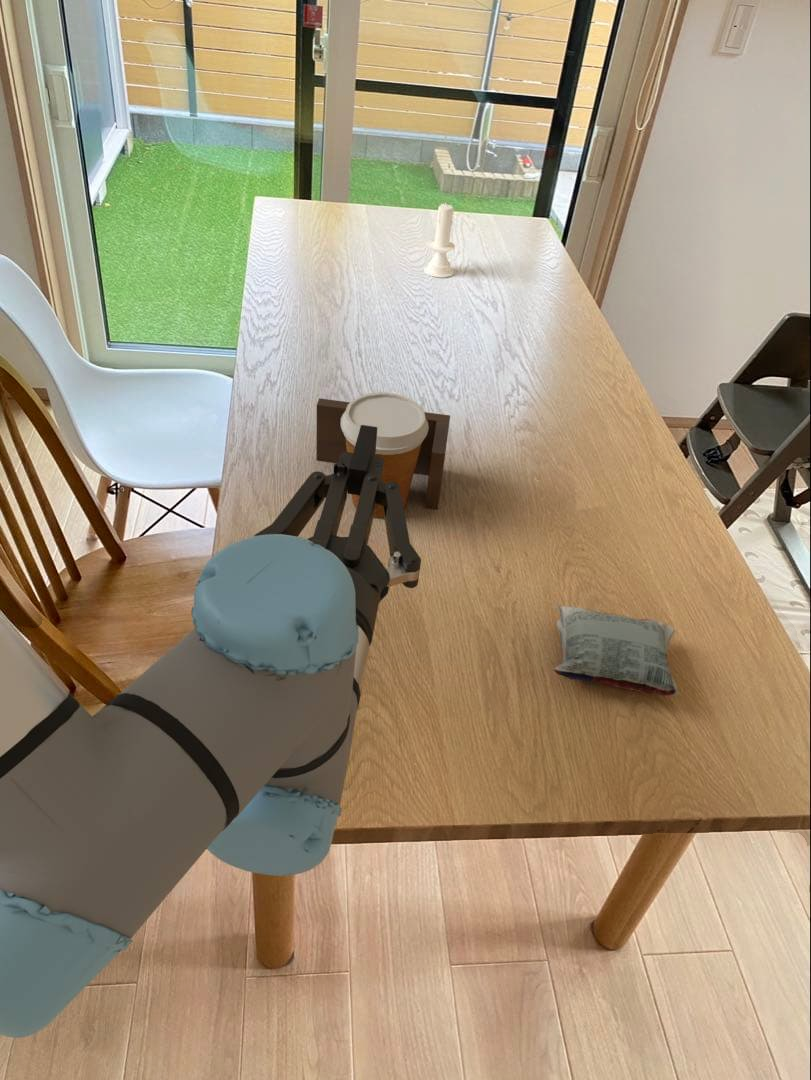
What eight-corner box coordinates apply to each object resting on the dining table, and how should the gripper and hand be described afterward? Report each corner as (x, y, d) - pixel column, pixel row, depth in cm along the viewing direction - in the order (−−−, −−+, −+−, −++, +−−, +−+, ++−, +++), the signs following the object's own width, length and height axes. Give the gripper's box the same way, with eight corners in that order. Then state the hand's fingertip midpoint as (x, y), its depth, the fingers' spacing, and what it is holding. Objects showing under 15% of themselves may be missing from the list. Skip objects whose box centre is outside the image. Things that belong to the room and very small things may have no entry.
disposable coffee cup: (321, 495, 92) (322, 408, 83) (383, 466, 97) (389, 381, 89) (374, 539, 87) (381, 450, 79) (436, 505, 92) (448, 419, 84)
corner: (437, 509, 91) (445, 454, 86) (305, 491, 92) (305, 435, 86) (442, 469, 97) (450, 415, 92) (318, 453, 98) (319, 398, 92)
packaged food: (551, 619, 80) (561, 586, 76) (668, 640, 79) (684, 608, 76) (547, 688, 73) (559, 655, 70) (675, 712, 73) (692, 679, 69)
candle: (418, 267, 141) (425, 198, 133) (445, 264, 143) (453, 196, 135) (432, 279, 138) (439, 210, 130) (458, 276, 140) (467, 207, 131)
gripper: (225, 657, 56) (297, 461, 73) (406, 684, 56) (435, 481, 73) (218, 584, 51) (296, 392, 68) (416, 613, 50) (445, 413, 68)
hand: (368, 438), depth 71 cm, fingers closed
